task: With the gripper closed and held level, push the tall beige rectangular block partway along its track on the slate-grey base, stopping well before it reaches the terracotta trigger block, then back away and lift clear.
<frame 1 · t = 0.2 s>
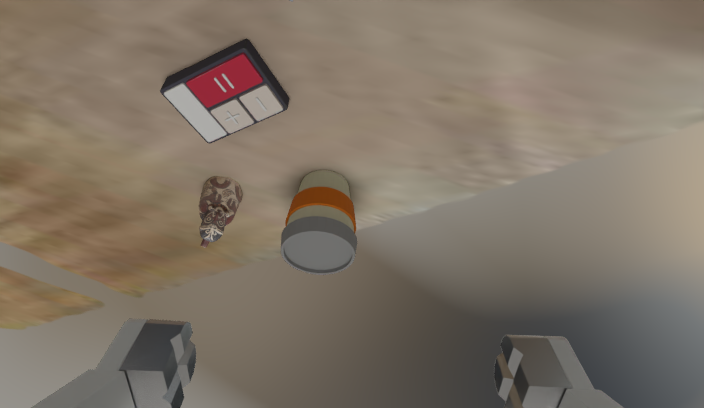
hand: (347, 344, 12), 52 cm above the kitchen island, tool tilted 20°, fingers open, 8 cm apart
figurine: (224, 189, 83), on the kitchen island
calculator: (229, 86, 67), on the kitchen island
reusable coffee cup: (325, 186, 82), on the kitchen island
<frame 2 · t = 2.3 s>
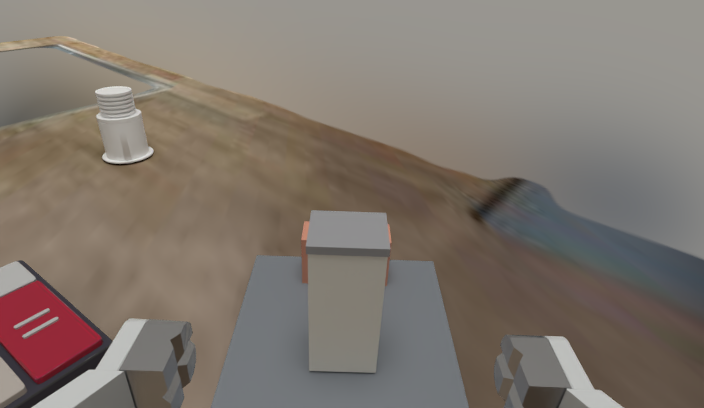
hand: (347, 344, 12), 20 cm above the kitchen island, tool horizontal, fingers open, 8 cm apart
beige rectangular block: (345, 295, 32), point 7 cm above the kitchen island, slide at 0.0 cm
key base: (343, 336, 39), on the kitchen island
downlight: (128, 156, 68), on the kitchen island
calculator: (4, 367, 35), on the kitchen island
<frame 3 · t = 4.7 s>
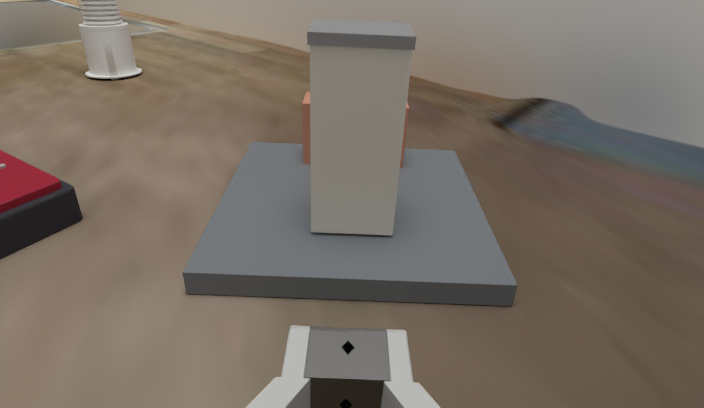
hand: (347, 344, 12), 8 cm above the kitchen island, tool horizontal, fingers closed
beige rectangular block: (356, 132, 26), point 7 cm above the kitchen island, slide at 0.0 cm
key base: (351, 214, 32), on the kitchen island
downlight: (115, 75, 62), on the kitchen island
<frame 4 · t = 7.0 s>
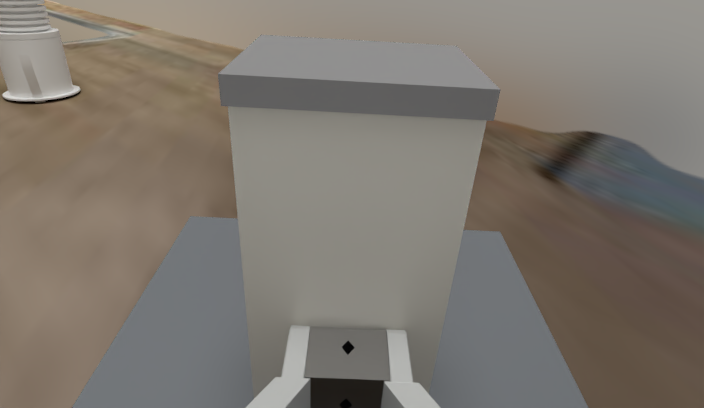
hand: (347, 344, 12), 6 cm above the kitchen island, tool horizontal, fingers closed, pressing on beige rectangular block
beige rectangular block: (347, 263, 13), point 8 cm above the kitchen island, slide at 0.5 cm, touching gripper
key base: (340, 368, 19), on the kitchen island
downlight: (44, 95, 48), on the kitchen island
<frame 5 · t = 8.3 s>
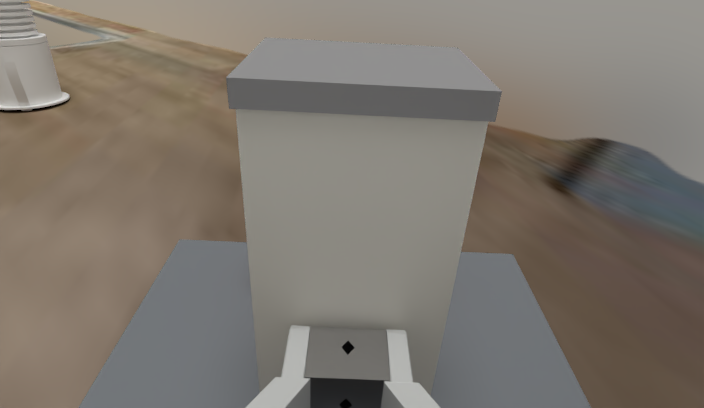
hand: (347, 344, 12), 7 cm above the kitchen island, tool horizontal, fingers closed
beige rectangular block: (351, 261, 13), point 7 cm above the kitchen island, slide at 2.9 cm
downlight: (31, 103, 46), on the kitchen island
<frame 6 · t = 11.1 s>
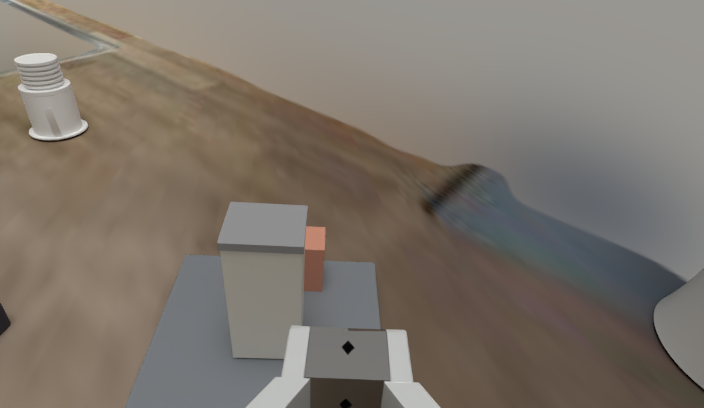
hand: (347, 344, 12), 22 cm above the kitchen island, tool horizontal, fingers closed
beige rectangular block: (267, 285, 32), point 8 cm above the kitchen island, slide at 2.9 cm
key base: (270, 348, 36), on the kitchen island
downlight: (60, 131, 62), on the kitchen island
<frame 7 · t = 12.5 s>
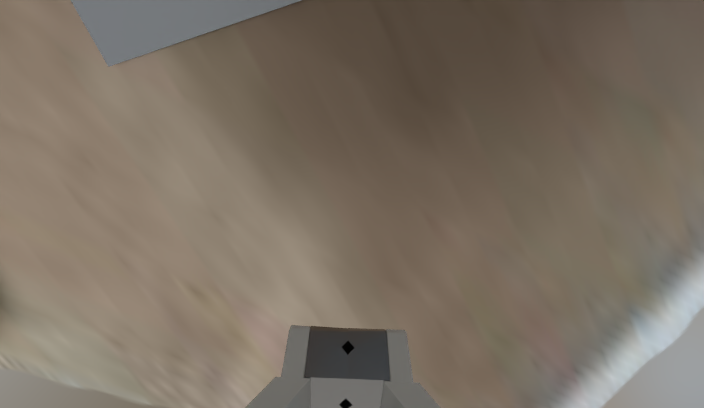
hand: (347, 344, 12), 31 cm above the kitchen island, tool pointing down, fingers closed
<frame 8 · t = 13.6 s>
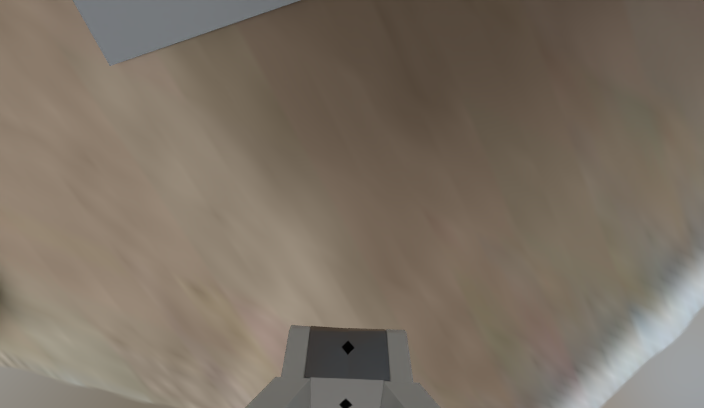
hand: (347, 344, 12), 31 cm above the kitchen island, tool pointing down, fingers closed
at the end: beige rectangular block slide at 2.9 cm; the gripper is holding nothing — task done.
